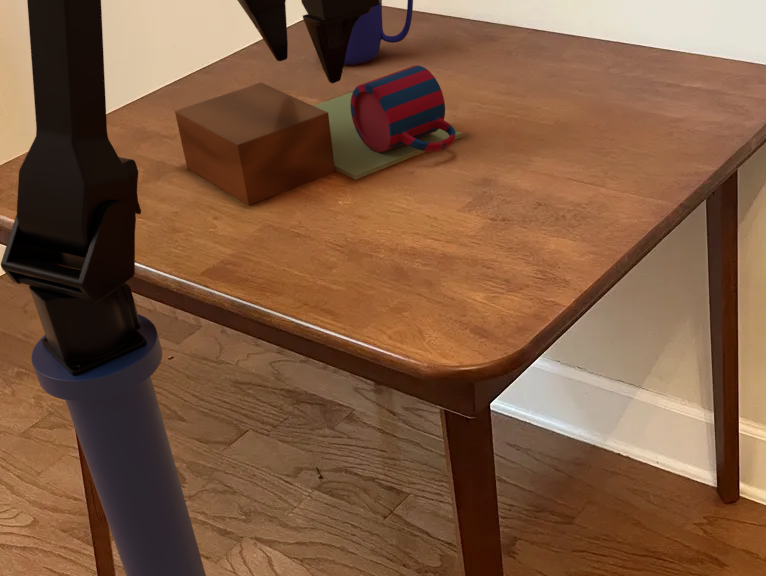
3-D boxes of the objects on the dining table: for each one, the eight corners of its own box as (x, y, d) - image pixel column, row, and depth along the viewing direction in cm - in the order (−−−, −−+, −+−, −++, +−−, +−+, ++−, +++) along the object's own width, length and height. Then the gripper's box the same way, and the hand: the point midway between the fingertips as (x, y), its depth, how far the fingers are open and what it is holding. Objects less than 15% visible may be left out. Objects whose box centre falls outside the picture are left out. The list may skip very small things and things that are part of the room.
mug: (418, 65, 122) (412, -23, 116) (317, 72, 123) (306, -16, 116) (417, 42, 129) (412, -43, 122) (321, 49, 129) (311, -35, 123)
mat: (355, 180, 98) (354, 175, 98) (256, 130, 110) (256, 125, 110) (462, 137, 105) (462, 132, 104) (358, 94, 116) (357, 89, 116)
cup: (348, 132, 104) (401, 113, 107) (410, 181, 99) (463, 159, 102) (350, 72, 99) (405, 53, 102) (415, 121, 94) (471, 99, 97)
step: (248, 205, 96) (237, 144, 92) (186, 168, 103) (174, 110, 100) (335, 171, 100) (328, 112, 97) (270, 138, 108) (261, 82, 104)
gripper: (422, -111, 88) (432, 70, 98) (301, -133, 100) (321, 30, 110) (315, -84, 83) (337, 103, 93) (202, -111, 95) (232, 58, 105)
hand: (307, 70), depth 100 cm, fingers open, 9 cm apart
